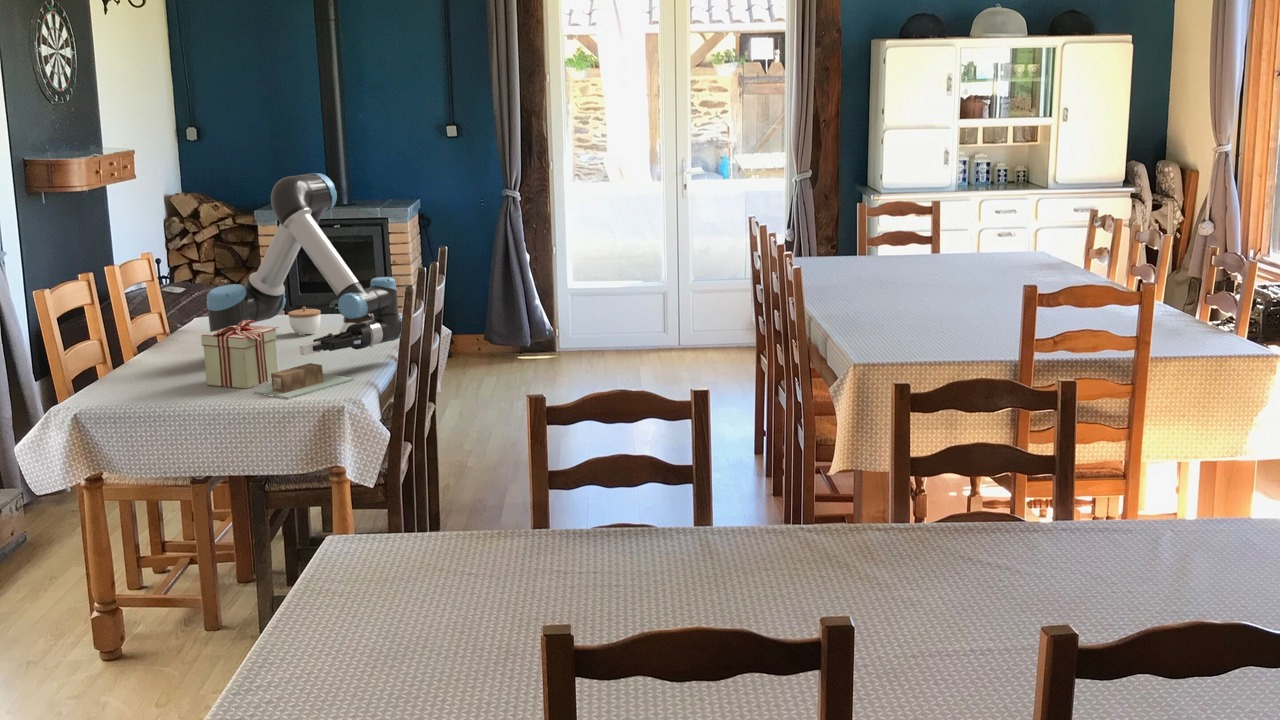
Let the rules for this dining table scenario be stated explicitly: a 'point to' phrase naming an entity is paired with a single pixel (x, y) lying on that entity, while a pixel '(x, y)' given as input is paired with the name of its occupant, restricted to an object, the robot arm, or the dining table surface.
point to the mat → (327, 382)
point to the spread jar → (354, 321)
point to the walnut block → (297, 377)
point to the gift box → (240, 355)
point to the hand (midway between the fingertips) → (301, 350)
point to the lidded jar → (305, 320)
